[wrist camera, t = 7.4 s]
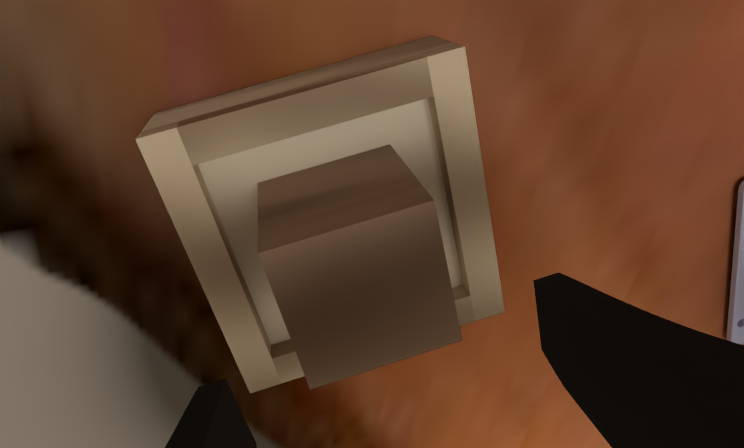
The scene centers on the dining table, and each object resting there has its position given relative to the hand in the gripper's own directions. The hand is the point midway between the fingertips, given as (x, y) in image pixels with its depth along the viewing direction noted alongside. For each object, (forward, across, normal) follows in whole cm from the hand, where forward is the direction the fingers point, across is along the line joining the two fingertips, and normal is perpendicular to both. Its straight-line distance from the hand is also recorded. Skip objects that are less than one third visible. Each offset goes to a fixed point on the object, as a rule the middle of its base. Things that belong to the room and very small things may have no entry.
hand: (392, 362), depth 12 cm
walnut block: (+7, 0, 0) cm, 7 cm away
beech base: (+10, 0, 0) cm, 10 cm away
